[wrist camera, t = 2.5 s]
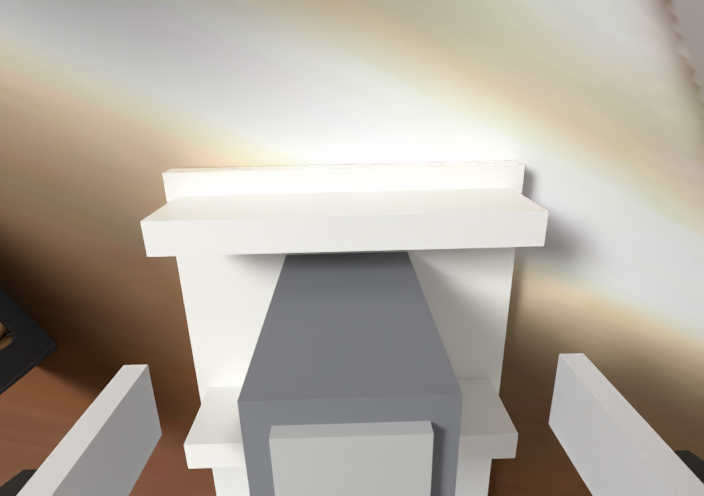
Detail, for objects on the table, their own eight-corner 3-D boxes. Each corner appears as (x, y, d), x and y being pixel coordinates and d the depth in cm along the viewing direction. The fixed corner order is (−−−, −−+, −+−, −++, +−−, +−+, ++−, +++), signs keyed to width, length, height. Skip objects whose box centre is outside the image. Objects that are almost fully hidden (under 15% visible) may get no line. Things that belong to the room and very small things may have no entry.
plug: (286, 255, 18) (233, 413, 9) (407, 251, 18) (467, 406, 9) (294, 358, 20) (255, 574, 11) (404, 355, 20) (454, 568, 11)
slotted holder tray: (171, 168, 18) (118, 193, 14) (515, 160, 18) (568, 182, 14) (247, 638, 28) (230, 735, 24) (465, 630, 28) (487, 725, 24)
